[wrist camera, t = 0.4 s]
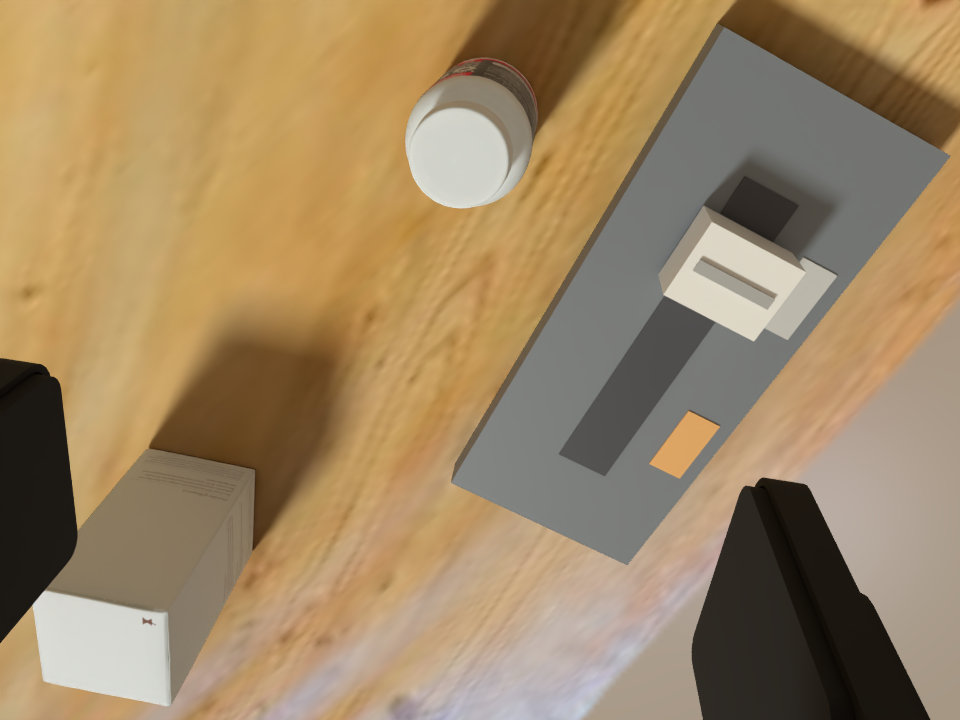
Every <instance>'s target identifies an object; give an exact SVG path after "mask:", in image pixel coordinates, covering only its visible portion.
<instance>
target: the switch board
mask: <svg viewBox="0 0 960 720" xmlns="http://www.w3.org/2000/svg"><path fill="white" fill-rule="evenodd" d="M949 158H950V155H948V154H947V153H945V152H943V151H941V150H939V149H938V148H936V147H934V146H932V145H931V144H929V143H927V142H925V141H924V140H922V139H920V138H918V137H917V136H915V135H913V134H911V133H910V132H908V131H906V130H904V129H903V128H901V127H899V126H897V125H896V124H894V123H892V122H890V121H889V120H887V119H885V118H883V117H882V116H880V115H878V114H876V113H875V112H873V111H871V110H869V109H867V108H866V107H864V106H862V105H860V104H859V103H857V102H855V101H853V100H852V99H850V98H848V97H846V96H845V95H843V94H841V93H839V92H838V91H836V90H834V89H832V88H831V87H829V86H827V85H825V84H824V83H822V82H820V81H818V80H817V79H815V78H813V77H811V76H810V75H808V74H806V73H804V72H803V71H801V70H799V69H797V68H795V67H794V66H792V65H790V64H788V63H787V62H785V61H783V60H781V59H780V58H778V57H776V56H774V55H773V54H771V53H769V52H767V51H766V50H764V49H762V48H760V47H759V46H757V45H755V44H753V43H752V42H750V41H748V40H746V39H745V38H743V37H741V36H739V35H738V34H736V33H734V32H732V31H731V30H729V29H727V28H725V27H723V26H722V25H720V24H718V23H717V24H716V26H715V28H714V29H713V31H712V33H711V34H710V36H709V38H708V39H707V41H706V43H705V45H704V46H703V48H702V50H701V51H700V53H699V55H698V56H697V58H696V60H695V61H694V63H693V65H692V66H691V68H690V70H689V71H688V73H687V75H686V76H685V78H684V80H683V82H682V83H681V85H680V87H679V88H678V90H677V92H676V93H675V95H674V97H673V98H672V100H671V102H670V103H669V105H668V107H667V108H666V110H665V112H664V113H663V115H662V117H661V118H660V120H659V122H658V124H657V125H656V127H655V129H654V130H653V132H652V134H651V135H650V137H649V139H648V140H647V142H646V144H645V145H644V147H643V149H642V150H641V152H640V154H639V155H638V157H637V159H636V161H635V162H634V164H633V166H632V167H631V169H630V171H629V172H628V174H627V176H626V177H625V179H624V181H623V182H622V184H621V186H620V187H619V189H618V191H617V192H616V194H615V196H614V198H613V199H612V201H611V203H610V204H609V206H608V208H607V209H606V211H605V213H604V214H603V216H602V218H601V219H600V221H599V223H598V224H597V226H596V228H595V229H594V231H593V233H592V234H591V236H590V238H589V240H588V241H587V243H586V245H585V246H584V248H583V250H582V251H581V253H580V255H579V256H578V258H577V260H576V261H575V263H574V265H573V266H572V268H571V270H570V271H569V273H568V275H567V277H566V278H565V280H564V282H563V283H562V285H561V287H560V288H559V290H558V292H557V293H556V295H555V297H554V298H553V300H552V302H551V303H550V305H549V307H548V308H547V310H546V312H545V314H544V315H543V317H542V319H541V320H540V322H539V324H538V325H537V327H536V329H535V330H534V332H533V334H532V335H531V337H530V339H529V340H528V342H527V344H526V345H525V347H524V349H523V351H522V352H521V354H520V356H519V357H518V359H517V361H516V362H515V364H514V366H513V367H512V369H511V371H510V372H509V374H508V376H507V377H506V379H505V381H504V382H503V384H502V386H501V387H500V389H499V391H498V393H497V394H496V396H495V398H494V399H493V401H492V403H491V404H490V406H489V408H488V409H487V411H486V413H485V414H484V416H483V418H482V419H481V421H480V423H479V424H478V426H477V428H476V430H475V431H474V433H473V435H472V436H471V438H470V440H469V441H468V443H467V445H466V446H465V448H464V450H463V451H462V453H461V455H460V456H459V458H458V460H457V461H456V463H455V467H454V471H453V476H452V480H451V483H452V484H455V485H457V486H459V487H461V488H463V489H465V490H467V491H470V492H472V493H474V494H476V495H478V496H480V497H482V498H485V499H487V500H489V501H491V502H493V503H495V504H497V505H500V506H502V507H504V508H506V509H508V510H510V511H512V512H515V513H517V514H519V515H521V516H523V517H525V518H527V519H530V520H532V521H534V522H536V523H538V524H540V525H542V526H545V527H547V528H549V529H551V530H553V531H555V532H557V533H560V534H562V535H564V536H566V537H568V538H570V539H572V540H574V541H577V542H579V543H581V544H583V545H585V546H587V547H589V548H592V549H594V550H596V551H598V552H600V553H602V554H604V555H607V556H609V557H611V558H613V559H615V560H617V561H619V562H622V563H624V564H626V565H628V564H629V562H630V561H631V560H632V559H633V557H634V556H635V555H636V553H637V552H638V551H639V550H640V548H641V547H642V546H643V545H644V543H645V542H646V541H647V540H648V538H649V537H650V536H651V535H652V533H653V532H654V531H655V529H656V528H657V527H658V526H659V524H660V523H661V522H662V521H663V519H664V518H665V517H666V516H667V514H668V513H669V512H670V510H671V509H672V508H673V507H674V505H675V504H676V503H677V502H678V500H679V499H680V498H681V497H682V495H683V494H684V493H685V491H686V490H687V489H688V488H689V486H690V485H691V484H692V483H693V481H694V480H695V479H696V478H697V476H698V475H699V474H700V473H701V471H702V470H703V469H704V467H705V466H706V465H707V464H708V462H709V461H710V460H711V459H712V457H713V456H714V455H715V454H716V452H717V451H718V450H719V448H720V447H721V446H722V445H723V443H724V442H725V441H726V440H727V438H728V437H729V436H730V435H731V433H732V432H733V431H734V430H735V428H736V427H737V426H738V424H739V423H740V422H741V421H742V419H743V418H744V417H745V416H746V414H747V413H748V412H749V411H750V409H751V408H752V407H753V405H754V404H755V403H756V402H757V400H758V399H759V398H760V397H761V395H762V394H763V393H764V392H765V390H766V389H767V388H768V386H769V385H770V384H771V383H772V381H773V380H774V379H775V378H776V376H777V375H778V374H779V373H780V371H781V370H782V369H783V368H784V366H785V365H786V364H787V362H788V361H789V360H790V359H791V357H792V356H793V355H794V354H795V352H796V351H797V350H798V349H799V347H800V346H801V345H802V343H803V342H804V341H805V340H806V338H807V337H808V336H809V335H810V333H811V332H812V331H813V330H814V328H815V327H816V326H817V325H818V323H819V322H820V321H821V319H822V318H823V317H824V316H825V314H826V313H827V312H828V311H829V309H830V308H831V307H832V306H833V304H834V303H835V302H836V300H837V299H838V298H839V297H840V295H841V294H842V293H843V292H844V290H845V289H846V288H847V287H848V285H849V284H850V283H851V281H852V280H853V279H854V278H855V276H856V275H857V274H858V273H859V271H860V270H861V269H862V268H863V266H864V265H865V264H866V263H867V261H868V260H869V259H870V257H871V256H872V255H873V254H874V252H875V251H876V250H877V249H878V247H879V246H880V245H881V244H882V242H883V241H884V240H885V238H886V237H887V236H888V235H889V233H890V232H891V231H892V230H893V228H894V227H895V226H896V225H897V223H898V222H899V221H900V220H901V218H902V217H903V216H904V214H905V213H906V212H907V211H908V209H909V208H910V207H911V206H912V204H913V203H914V202H915V201H916V199H917V198H918V197H919V195H920V194H921V193H922V192H923V190H924V189H925V188H926V187H927V185H928V184H929V183H930V182H931V180H932V179H933V178H934V176H935V175H936V174H937V173H938V171H939V170H940V169H941V168H942V166H943V165H944V164H945V163H946V161H947V160H948V159H949ZM703 206H706V207H708V208H709V209H711V210H713V211H715V212H717V213H719V214H721V215H722V216H724V217H726V218H728V219H730V220H732V221H734V222H736V223H737V224H739V225H741V226H743V227H745V228H747V229H749V230H750V231H752V232H754V233H756V234H758V235H760V236H762V237H763V238H765V239H767V240H769V241H771V242H773V243H775V244H777V245H778V246H780V247H782V248H784V249H786V250H788V251H790V252H791V253H793V254H794V256H795V257H796V259H797V260H798V261H799V263H800V264H801V266H802V267H803V268H804V270H805V271H806V273H805V275H804V276H803V277H802V279H801V280H800V281H799V283H798V284H797V285H796V287H795V288H794V289H793V291H792V292H791V293H790V295H789V296H788V297H787V299H786V300H785V301H784V303H783V304H782V305H781V307H780V308H779V309H778V311H777V312H776V313H775V315H774V316H773V317H772V319H771V320H770V321H769V322H768V324H767V325H766V326H765V328H764V329H763V330H762V332H761V333H760V334H759V336H758V337H757V338H756V340H755V341H752V340H750V339H748V338H746V337H744V336H742V335H740V334H738V333H736V332H734V331H732V330H730V329H729V328H727V327H725V326H723V325H721V324H719V323H717V322H715V321H713V320H711V319H709V318H707V317H705V316H703V315H701V314H700V313H698V312H696V311H694V310H692V309H690V308H688V307H686V306H684V305H682V304H680V303H678V302H676V301H674V300H672V299H671V298H669V297H667V296H665V295H663V292H662V288H661V284H660V280H659V276H658V274H659V273H660V271H661V270H662V268H663V267H664V265H665V264H666V262H667V261H668V259H669V258H670V256H671V254H672V253H673V251H674V250H675V248H676V247H677V245H678V244H679V242H680V241H681V239H682V238H683V236H684V235H685V233H686V232H687V230H688V229H689V227H690V226H691V224H692V222H693V221H694V219H695V218H696V216H697V215H698V213H699V212H700V210H701V209H702V207H703Z"/></svg>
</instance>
